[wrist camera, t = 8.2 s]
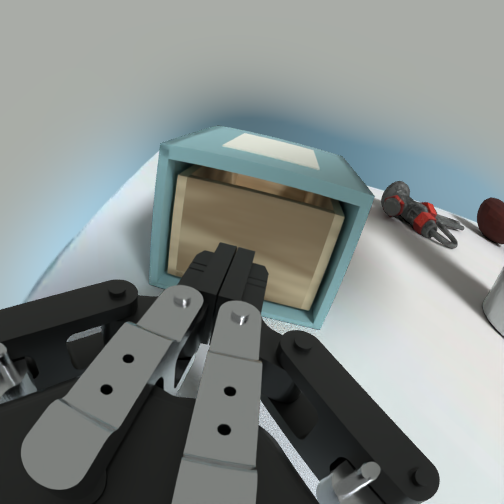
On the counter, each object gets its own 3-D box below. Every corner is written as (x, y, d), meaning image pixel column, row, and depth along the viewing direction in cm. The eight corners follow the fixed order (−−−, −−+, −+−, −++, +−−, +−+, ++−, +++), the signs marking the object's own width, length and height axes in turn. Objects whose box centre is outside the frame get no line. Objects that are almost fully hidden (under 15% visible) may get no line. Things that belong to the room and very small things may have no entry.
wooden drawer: (231, 187, 40) (242, 136, 37) (305, 205, 40) (319, 155, 36) (167, 273, 21) (177, 175, 17) (309, 310, 20) (344, 217, 17)
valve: (410, 258, 40) (361, 203, 51) (479, 265, 50) (438, 222, 61) (432, 223, 37) (376, 172, 48) (495, 241, 46) (452, 200, 57)
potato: (505, 255, 51) (522, 215, 46) (464, 227, 61) (480, 189, 56) (513, 252, 57) (528, 217, 52) (477, 227, 66) (491, 193, 61)
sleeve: (201, 216, 32) (218, 124, 27) (314, 245, 31) (342, 155, 27) (149, 284, 20) (160, 141, 16) (319, 329, 20) (375, 194, 15)
